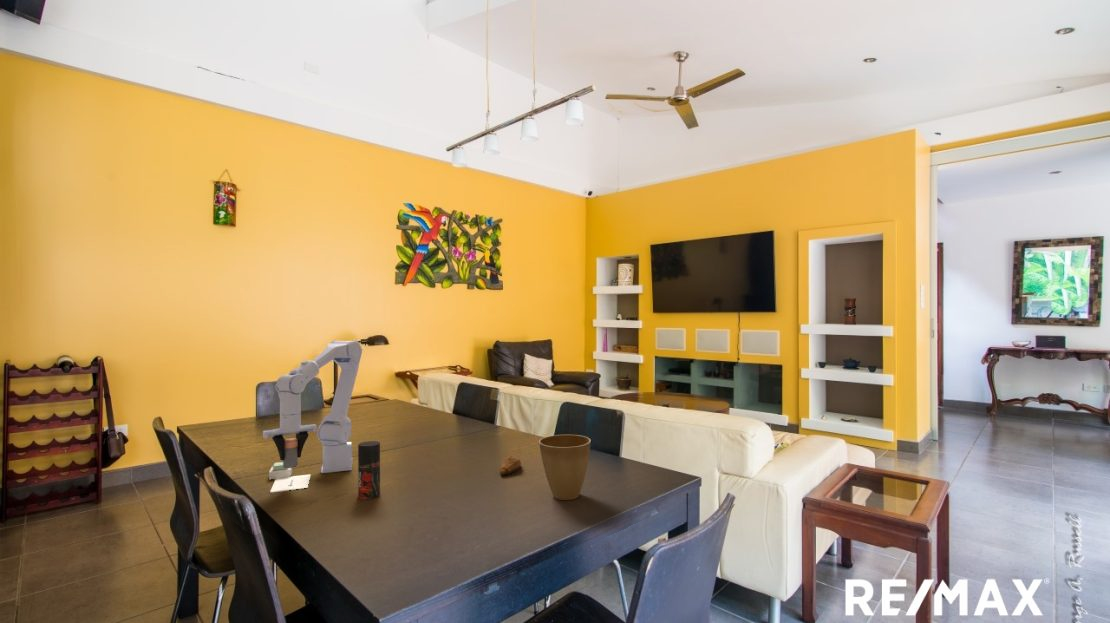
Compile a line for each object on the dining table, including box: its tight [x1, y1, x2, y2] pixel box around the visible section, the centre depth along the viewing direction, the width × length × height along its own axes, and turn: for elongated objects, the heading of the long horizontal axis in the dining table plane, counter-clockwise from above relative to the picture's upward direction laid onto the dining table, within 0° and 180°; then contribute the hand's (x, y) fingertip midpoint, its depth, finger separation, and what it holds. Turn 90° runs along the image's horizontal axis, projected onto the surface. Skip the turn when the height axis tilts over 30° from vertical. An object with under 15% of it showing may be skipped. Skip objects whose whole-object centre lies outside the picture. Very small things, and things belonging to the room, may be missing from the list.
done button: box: [272, 461, 288, 471], centre depth 164 cm, size 4×4×2 cm
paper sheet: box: [269, 473, 312, 494], centre depth 157 cm, size 10×14×1 cm
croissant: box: [499, 456, 522, 476], centre depth 168 cm, size 14×7×5 cm, turn 160°
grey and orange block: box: [282, 437, 299, 469], centre depth 154 cm, size 4×4×8 cm
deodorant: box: [357, 440, 381, 500], centre depth 146 cm, size 6×6×15 cm
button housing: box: [268, 466, 293, 481], centre depth 164 cm, size 6×6×2 cm
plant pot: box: [538, 434, 592, 501], centre depth 144 cm, size 15×15×16 cm
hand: (290, 458), depth 154 cm, fingers closed on grey and orange block, 4 cm apart
